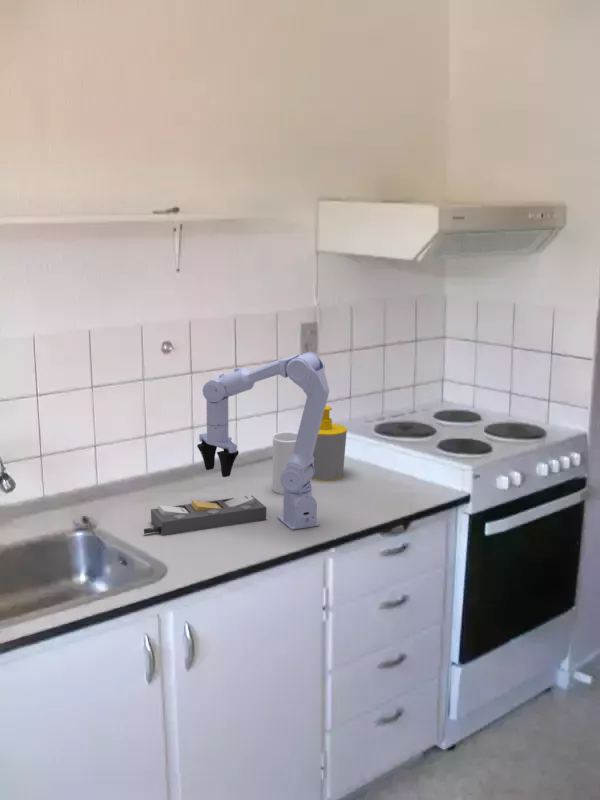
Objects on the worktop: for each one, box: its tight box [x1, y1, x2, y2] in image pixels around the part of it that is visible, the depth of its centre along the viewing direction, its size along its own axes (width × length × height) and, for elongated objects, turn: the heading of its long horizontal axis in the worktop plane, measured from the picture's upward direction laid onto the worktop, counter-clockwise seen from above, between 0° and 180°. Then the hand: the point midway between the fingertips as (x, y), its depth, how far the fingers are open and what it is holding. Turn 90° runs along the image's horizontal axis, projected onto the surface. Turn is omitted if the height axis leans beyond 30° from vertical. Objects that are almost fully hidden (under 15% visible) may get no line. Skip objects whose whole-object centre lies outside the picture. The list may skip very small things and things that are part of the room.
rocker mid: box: [190, 500, 221, 512], centre depth 233 cm, size 5×7×2 cm
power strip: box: [143, 495, 267, 536], centre depth 231 cm, size 10×32×4 cm, turn 115°
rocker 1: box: [157, 504, 189, 516], centre depth 230 cm, size 5×7×2 cm
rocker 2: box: [224, 492, 255, 507], centre depth 237 cm, size 5×7×2 cm
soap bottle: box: [311, 405, 348, 482], centre depth 269 cm, size 13×13×21 cm
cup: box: [271, 431, 298, 495], centre depth 255 cm, size 8×8×16 cm
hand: (217, 472), depth 239 cm, fingers open, 7 cm apart
